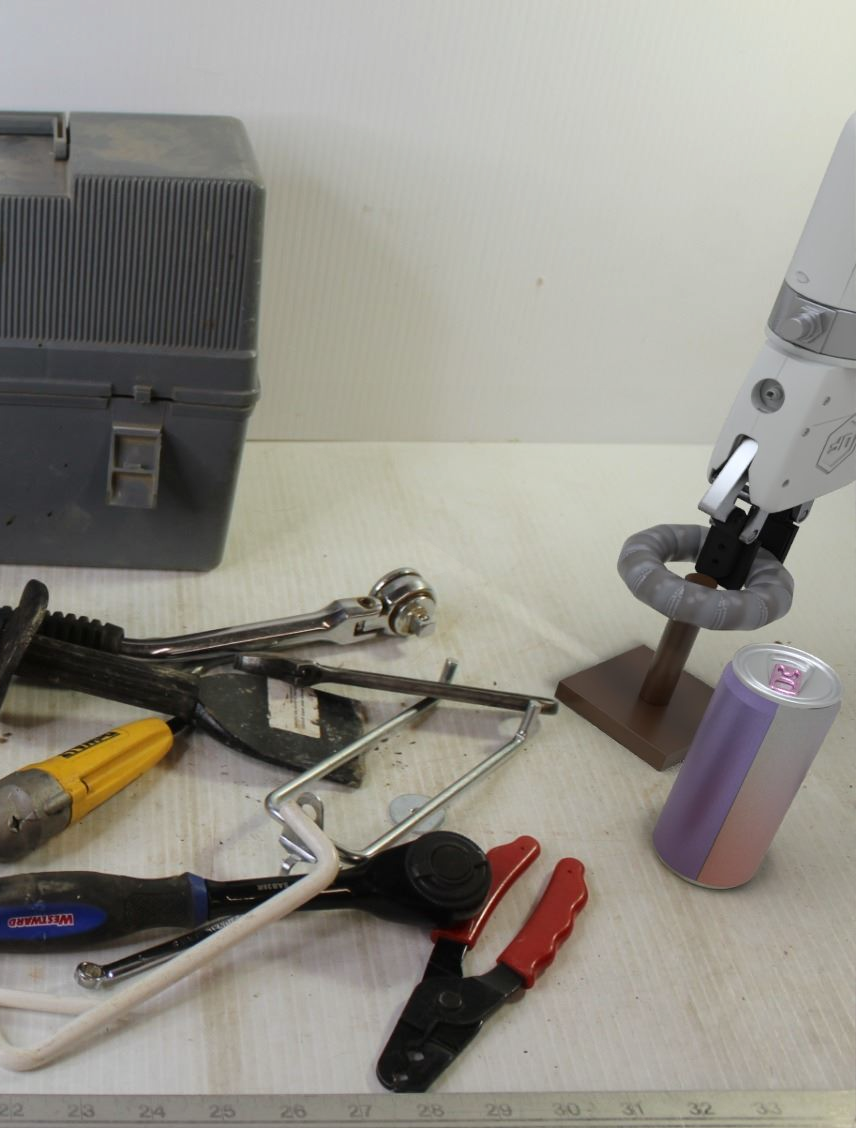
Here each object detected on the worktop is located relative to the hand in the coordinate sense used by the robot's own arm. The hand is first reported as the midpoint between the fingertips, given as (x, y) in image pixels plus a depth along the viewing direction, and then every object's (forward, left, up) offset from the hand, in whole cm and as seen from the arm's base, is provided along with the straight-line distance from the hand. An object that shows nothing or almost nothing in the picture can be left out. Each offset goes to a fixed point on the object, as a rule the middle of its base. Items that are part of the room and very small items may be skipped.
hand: (736, 571), depth 90 cm
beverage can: (+13, +11, -11) cm, 20 cm away
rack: (+4, 0, -11) cm, 12 cm away
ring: (+4, 0, +1) cm, 4 cm away
